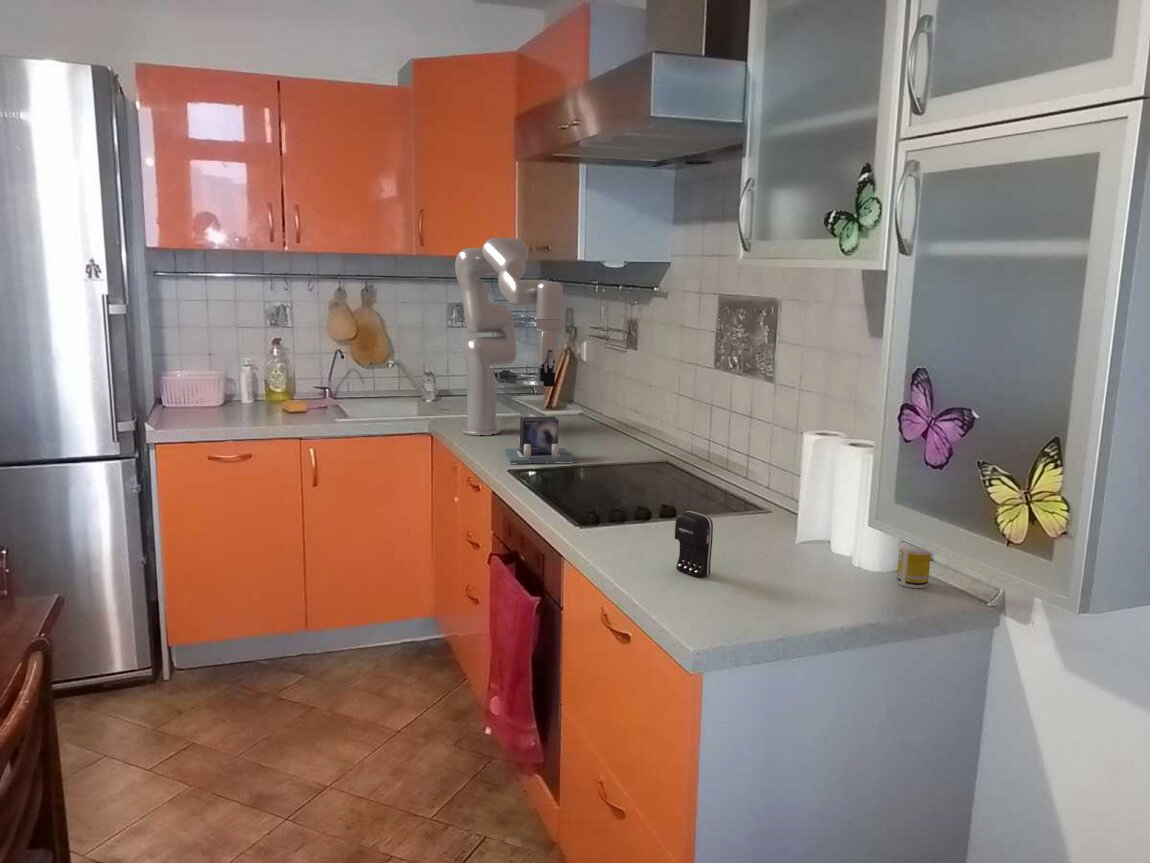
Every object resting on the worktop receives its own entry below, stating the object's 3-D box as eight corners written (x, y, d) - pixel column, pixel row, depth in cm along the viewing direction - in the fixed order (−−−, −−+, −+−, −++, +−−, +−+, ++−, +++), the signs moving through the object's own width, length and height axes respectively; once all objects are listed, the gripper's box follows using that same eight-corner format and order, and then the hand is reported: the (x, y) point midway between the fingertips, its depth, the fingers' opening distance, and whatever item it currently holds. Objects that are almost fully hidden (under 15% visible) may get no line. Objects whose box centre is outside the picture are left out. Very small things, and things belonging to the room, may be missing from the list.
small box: (522, 456, 260) (522, 420, 258) (518, 451, 266) (519, 416, 264) (558, 455, 262) (559, 419, 260) (554, 450, 269) (554, 415, 267)
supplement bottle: (934, 586, 165) (939, 534, 163) (914, 591, 162) (919, 538, 161) (910, 577, 170) (914, 526, 168) (889, 581, 167) (894, 530, 165)
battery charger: (670, 570, 171) (672, 511, 169) (684, 566, 173) (686, 508, 171) (697, 580, 166) (700, 520, 163) (711, 576, 168) (714, 516, 166)
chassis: (505, 452, 271) (505, 435, 270) (564, 451, 274) (565, 434, 273) (510, 464, 255) (510, 446, 254) (573, 463, 258) (573, 445, 257)
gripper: (533, 322, 270) (531, 379, 273) (538, 327, 253) (537, 388, 257) (558, 322, 271) (556, 379, 274) (565, 328, 254) (563, 388, 258)
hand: (547, 383), depth 265 cm, fingers open, 9 cm apart
